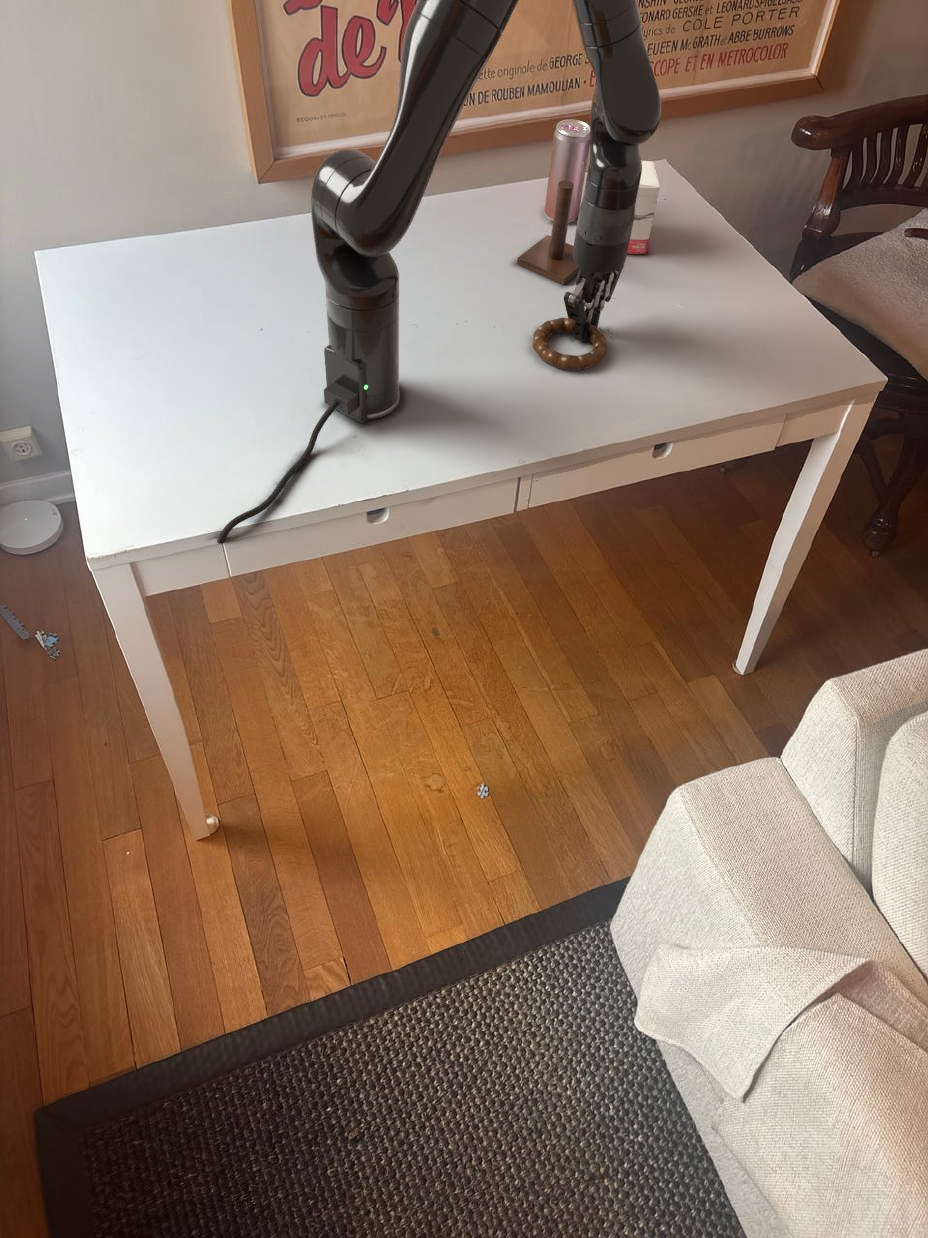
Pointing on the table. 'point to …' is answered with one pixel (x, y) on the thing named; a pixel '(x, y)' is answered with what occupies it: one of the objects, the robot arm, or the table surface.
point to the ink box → (644, 209)
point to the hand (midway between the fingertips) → (584, 334)
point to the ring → (562, 359)
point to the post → (554, 243)
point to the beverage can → (568, 163)
